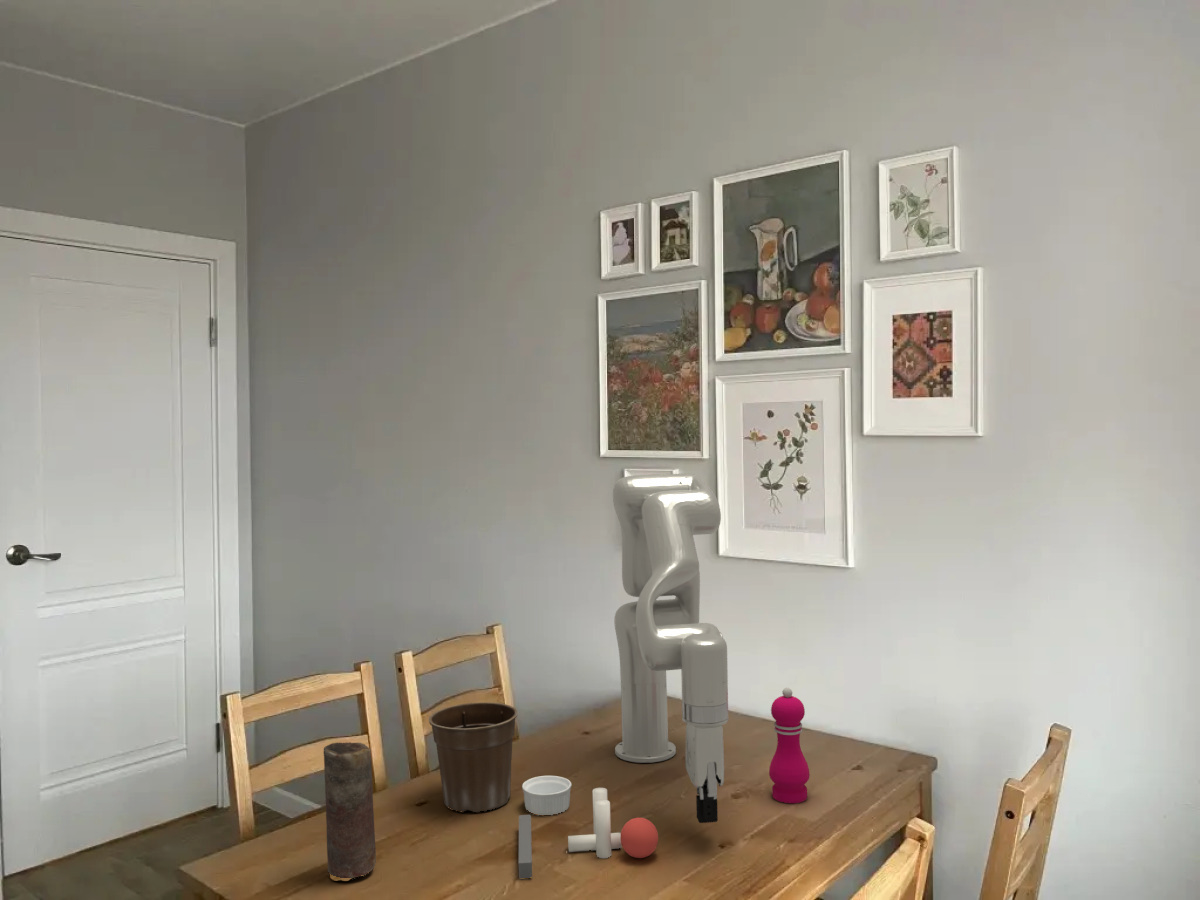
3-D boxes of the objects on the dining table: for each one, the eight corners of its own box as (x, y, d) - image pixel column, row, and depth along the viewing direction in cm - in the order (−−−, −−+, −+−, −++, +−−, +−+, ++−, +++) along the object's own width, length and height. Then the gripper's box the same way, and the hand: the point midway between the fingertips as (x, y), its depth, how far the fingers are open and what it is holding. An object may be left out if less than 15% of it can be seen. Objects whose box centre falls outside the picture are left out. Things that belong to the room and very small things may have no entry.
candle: (333, 863, 155) (328, 739, 155) (379, 859, 156) (375, 736, 155) (323, 885, 148) (318, 755, 147) (372, 882, 148) (367, 753, 148)
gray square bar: (519, 829, 166) (519, 815, 166) (531, 829, 166) (530, 814, 166) (519, 879, 148) (518, 863, 148) (532, 878, 148) (531, 862, 148)
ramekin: (579, 801, 178) (578, 777, 178) (561, 820, 170) (560, 796, 169) (534, 796, 181) (533, 773, 181) (514, 815, 172) (514, 791, 172)
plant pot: (413, 803, 179) (410, 716, 178) (481, 777, 191) (478, 696, 190) (470, 826, 168) (467, 734, 167) (538, 798, 179) (535, 711, 179)
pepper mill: (810, 805, 172) (807, 694, 172) (769, 803, 174) (766, 693, 173) (809, 790, 179) (807, 683, 179) (770, 788, 181) (767, 682, 180)
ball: (615, 816, 154) (649, 804, 156) (614, 839, 157) (647, 827, 159) (630, 848, 149) (665, 835, 151) (629, 871, 153) (663, 858, 155)
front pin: (619, 842, 159) (568, 845, 159) (619, 829, 159) (567, 832, 158) (621, 851, 157) (569, 855, 156) (621, 838, 157) (568, 842, 156)
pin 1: (593, 838, 161) (592, 788, 161) (607, 837, 162) (606, 787, 161) (594, 844, 159) (593, 793, 159) (609, 843, 159) (607, 792, 159)
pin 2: (595, 852, 156) (594, 800, 156) (610, 851, 157) (609, 799, 156) (597, 858, 154) (595, 806, 154) (612, 857, 154) (610, 805, 154)
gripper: (675, 697, 166) (677, 802, 167) (690, 727, 151) (692, 842, 152) (718, 695, 166) (720, 800, 168) (737, 725, 152) (739, 839, 153)
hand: (707, 820), depth 160 cm, fingers closed
